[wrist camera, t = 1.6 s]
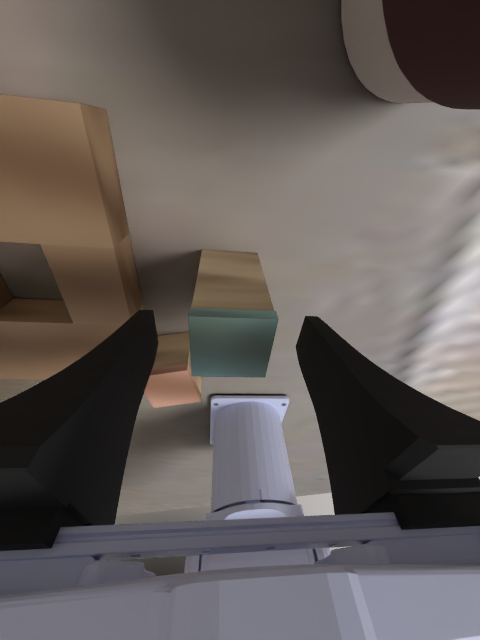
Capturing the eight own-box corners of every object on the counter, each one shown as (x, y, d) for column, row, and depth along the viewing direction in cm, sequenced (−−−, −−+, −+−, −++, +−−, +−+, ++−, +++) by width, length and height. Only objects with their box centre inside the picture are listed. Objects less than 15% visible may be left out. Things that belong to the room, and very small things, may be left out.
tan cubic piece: (204, 360, 21) (200, 401, 18) (164, 366, 21) (154, 407, 18) (193, 330, 19) (186, 370, 16) (149, 336, 19) (134, 377, 16)
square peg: (251, 299, 17) (265, 377, 12) (202, 297, 17) (191, 376, 12) (258, 252, 15) (278, 319, 10) (201, 248, 15) (188, 316, 9)
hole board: (153, 357, 20) (145, 381, 18) (-1, 354, 19) (-26, 379, 17) (105, 109, 11) (79, 103, 9) (-205, 74, 10) (-317, 57, 8)
